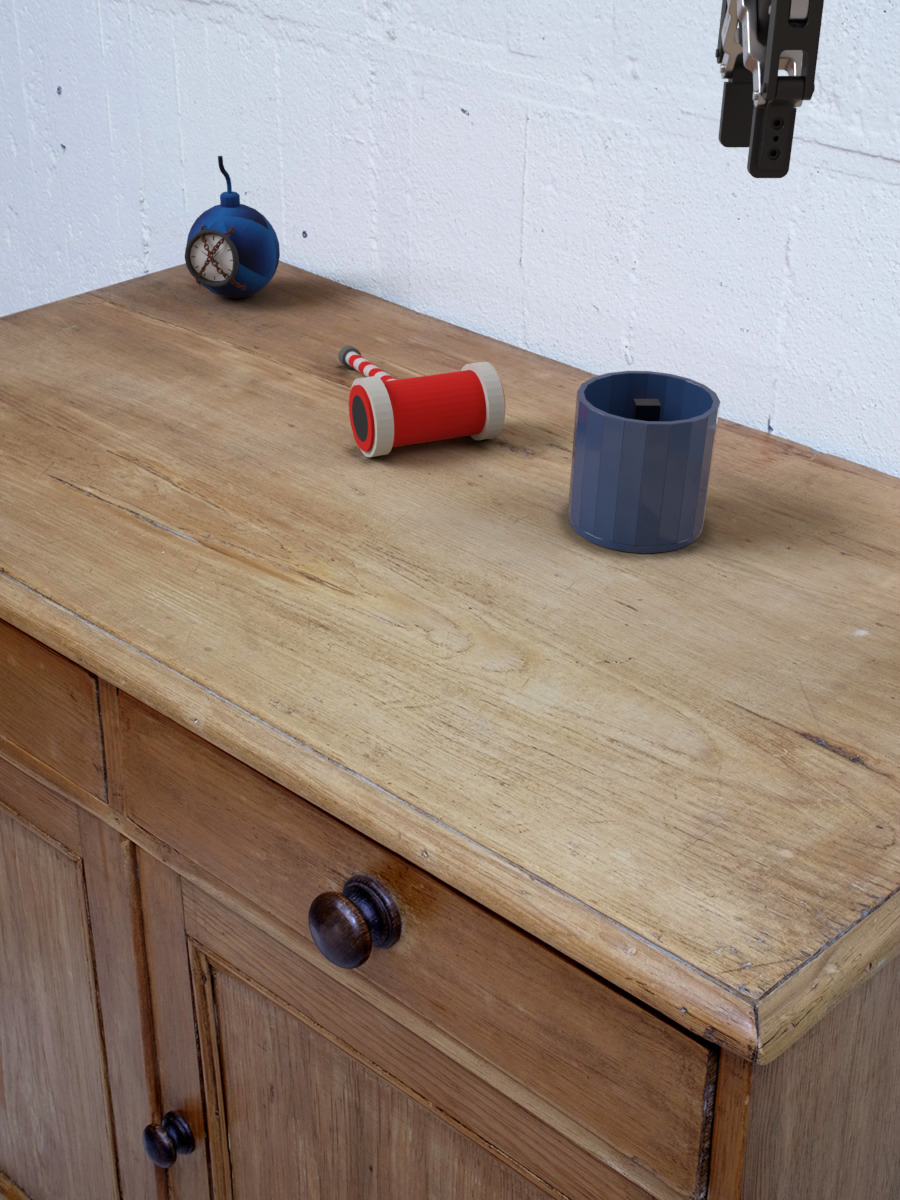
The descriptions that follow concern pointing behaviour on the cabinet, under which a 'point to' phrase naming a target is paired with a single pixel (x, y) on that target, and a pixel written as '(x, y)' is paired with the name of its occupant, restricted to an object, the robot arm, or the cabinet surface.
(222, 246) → the bomb
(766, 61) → the robot arm
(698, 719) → the cabinet surface
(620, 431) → the cup
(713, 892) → the cabinet surface
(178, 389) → the cabinet surface
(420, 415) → the toy hammer
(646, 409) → the tall red rectangular prism
